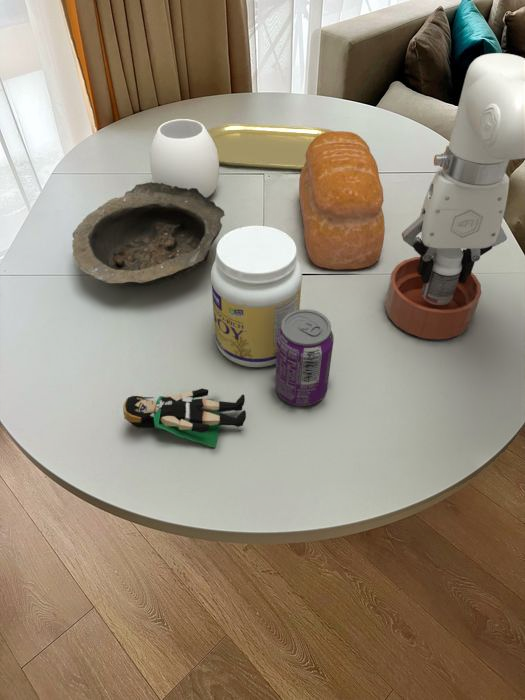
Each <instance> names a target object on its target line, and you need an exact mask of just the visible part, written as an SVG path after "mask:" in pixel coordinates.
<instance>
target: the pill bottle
mask: <svg viewBox="0 0 525 700" xmlns="http://www.w3.org/2000/svg"><path fill="white" fill-rule="evenodd" d="M462 257H463V249H441V248H438V249H437V250H436V252H435V253H434V255H433V257H432V258H433V261H434V265H433V269H432V272H431V276H430V280H429V283H424V284H423V288H422V296H423V298H424V299H425V300H426V301H427V302H429V303H431V304H434V305H445V304H448V303H450V302H451V301H452V299H453V296H454V293H455V289H456V286H457V283H458V280H459V277H460V273H461V270H462V263H461V261H462Z"/></svg>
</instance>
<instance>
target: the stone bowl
mask: <svg viewBox="0 0 525 700" xmlns="http://www.w3.org/2000/svg"><path fill="white" fill-rule="evenodd" d="M209 199H210V198H209V197H204V196H203V195H202V194H201V193H199V191H198V189H196V188H191V189H189V190H188V189H187V188H178V187H177V186H174V187H172V186H170V185H166V184H163V183H161V184H159V183H154V182H153V181H152V182H145V183H138V184H135V186H134V187H133V188H132V189H130V190H127V191H126V192H125V193H124V196H121V197H113V198H111V199H109V200H107V201H106V202H105V203H104V204H101V206H99V207H97V208H96V209H95V210H94V211H92V212H90V213H88V214H87V215H86V216H85V217H84V219H82V221H81V222H80V223H79V224H78V225H77V227H76V229H74V230H73V232H72V238H73V240H72V244H71V245H72V256H73V257H74V261H75V263H76V265H77V266H78V268H79V269H80V270H81V271H82V272H83V273H86V274H87V275H90V276H91V277H93V278H94V279H97V280H99V281H103V282H104V283H108V284H124V285H126V286H130V287H143V286H150V285H153V284H154V285H155V284H158V283H164V282H167V281H169V280H174V279H175V278H178V277H180V276H181V275H184V274H185V273H187V272H189V271H190V270H193V269H194V268H195V267H197V265H199V264H203V263H205V262H207V261H208V259H209V256H210V255H209V254H210V248H211V247H212V246H213V244H214V242H215V241H216V240H217V238H218V237H219V235H220V232H221V230H222V228H223V224H222V222H221V219H222V218H223V217H224V216H226V214H225V210H224V209H223V208H221V207H219V206H218V205H216V203H215V202H214V201H211V200H209Z"/></svg>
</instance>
